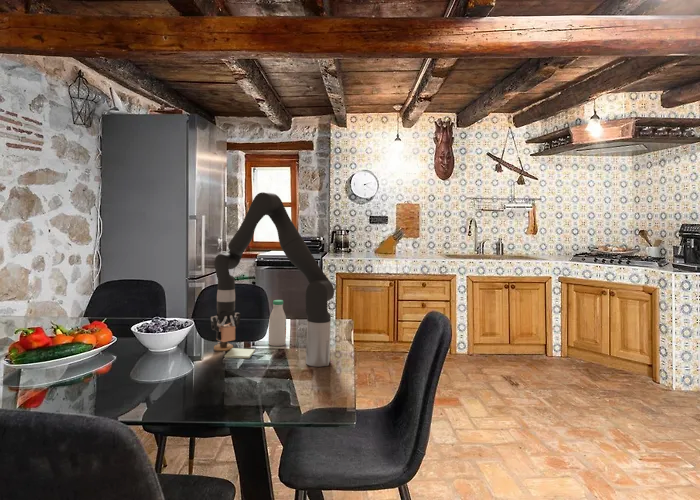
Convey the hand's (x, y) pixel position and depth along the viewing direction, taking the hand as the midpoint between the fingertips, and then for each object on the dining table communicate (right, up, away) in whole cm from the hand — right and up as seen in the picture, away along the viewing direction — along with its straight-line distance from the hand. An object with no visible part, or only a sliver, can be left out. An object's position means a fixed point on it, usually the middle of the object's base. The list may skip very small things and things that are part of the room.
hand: (225, 338), depth 187 cm
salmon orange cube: (0, -1, 0) cm, 1 cm away
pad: (+8, -5, -6) cm, 11 cm away
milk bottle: (+20, -5, +10) cm, 23 cm away
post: (-1, -5, 0) cm, 5 cm away
